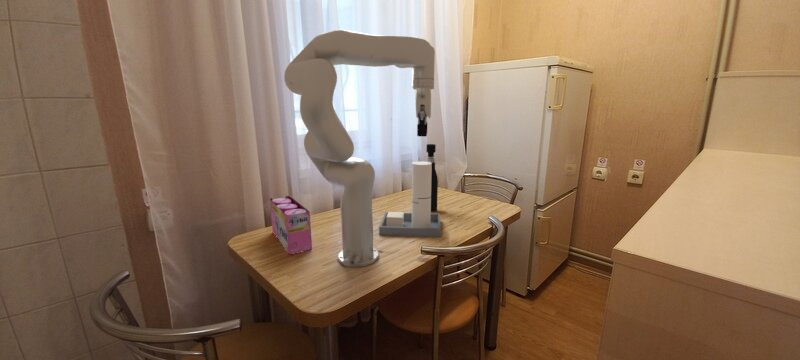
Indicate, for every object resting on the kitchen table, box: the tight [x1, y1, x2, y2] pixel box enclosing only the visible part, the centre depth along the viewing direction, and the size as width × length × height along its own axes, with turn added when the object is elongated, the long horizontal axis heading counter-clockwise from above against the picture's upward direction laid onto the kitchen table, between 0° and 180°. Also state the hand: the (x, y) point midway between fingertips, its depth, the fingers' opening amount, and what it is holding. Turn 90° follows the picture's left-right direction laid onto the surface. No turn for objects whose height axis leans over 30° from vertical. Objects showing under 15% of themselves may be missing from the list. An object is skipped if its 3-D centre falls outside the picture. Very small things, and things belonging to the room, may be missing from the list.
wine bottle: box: [426, 143, 439, 213], centre depth 139 cm, size 6×6×30 cm
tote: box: [378, 211, 442, 238], centre depth 122 cm, size 16×22×4 cm
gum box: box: [269, 195, 313, 255], centre depth 112 cm, size 24×8×14 cm, turn 34°
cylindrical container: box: [411, 161, 432, 228], centre depth 119 cm, size 7×7×25 cm
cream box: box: [386, 211, 405, 227], centre depth 122 cm, size 6×6×5 cm
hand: (422, 134), depth 113 cm, fingers open, 9 cm apart
